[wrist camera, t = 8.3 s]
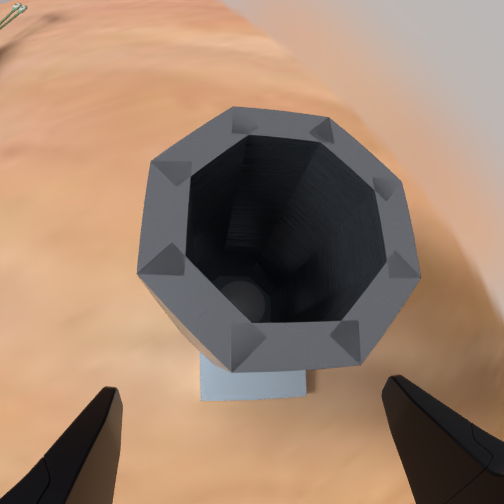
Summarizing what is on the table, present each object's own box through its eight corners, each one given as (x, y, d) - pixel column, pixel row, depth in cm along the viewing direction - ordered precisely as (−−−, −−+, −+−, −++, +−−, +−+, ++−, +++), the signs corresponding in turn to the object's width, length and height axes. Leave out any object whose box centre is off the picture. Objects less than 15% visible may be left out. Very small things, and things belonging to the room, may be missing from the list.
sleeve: (287, 363, 18) (429, 354, 6) (180, 363, 17) (132, 369, 5) (283, 262, 20) (386, 128, 8) (183, 259, 19) (161, 104, 7)
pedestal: (303, 395, 18) (323, 401, 15) (201, 399, 17) (200, 407, 14) (293, 222, 21) (309, 198, 18) (201, 219, 20) (202, 193, 17)
